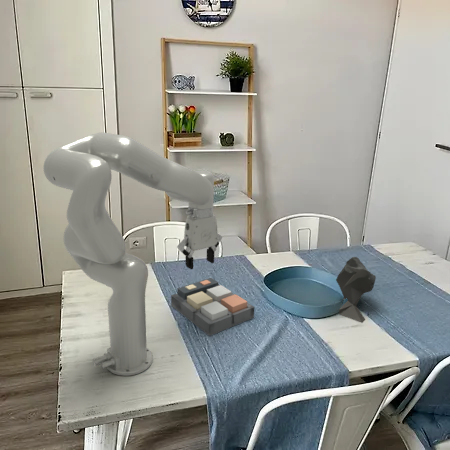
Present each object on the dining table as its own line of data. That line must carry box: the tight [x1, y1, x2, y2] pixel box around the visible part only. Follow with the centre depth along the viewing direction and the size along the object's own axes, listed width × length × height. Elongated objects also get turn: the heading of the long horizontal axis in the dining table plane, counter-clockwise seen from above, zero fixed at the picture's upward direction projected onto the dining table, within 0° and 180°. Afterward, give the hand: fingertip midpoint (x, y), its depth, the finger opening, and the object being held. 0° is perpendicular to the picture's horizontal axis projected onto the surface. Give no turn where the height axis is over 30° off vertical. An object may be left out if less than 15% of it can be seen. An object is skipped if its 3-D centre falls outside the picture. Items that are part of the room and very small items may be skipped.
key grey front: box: [201, 301, 228, 321], centre depth 136 cm, size 6×6×3 cm
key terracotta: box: [221, 293, 248, 314], centre depth 141 cm, size 6×6×3 cm
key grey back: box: [207, 284, 233, 303], centre depth 147 cm, size 6×6×3 cm
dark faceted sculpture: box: [335, 256, 377, 324], centre depth 148 cm, size 14×15×18 cm
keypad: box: [170, 277, 255, 337], centre depth 144 cm, size 18×22×7 cm
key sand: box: [187, 291, 213, 310], centre depth 142 cm, size 6×6×3 cm
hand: (200, 264), depth 138 cm, fingers open, 7 cm apart
